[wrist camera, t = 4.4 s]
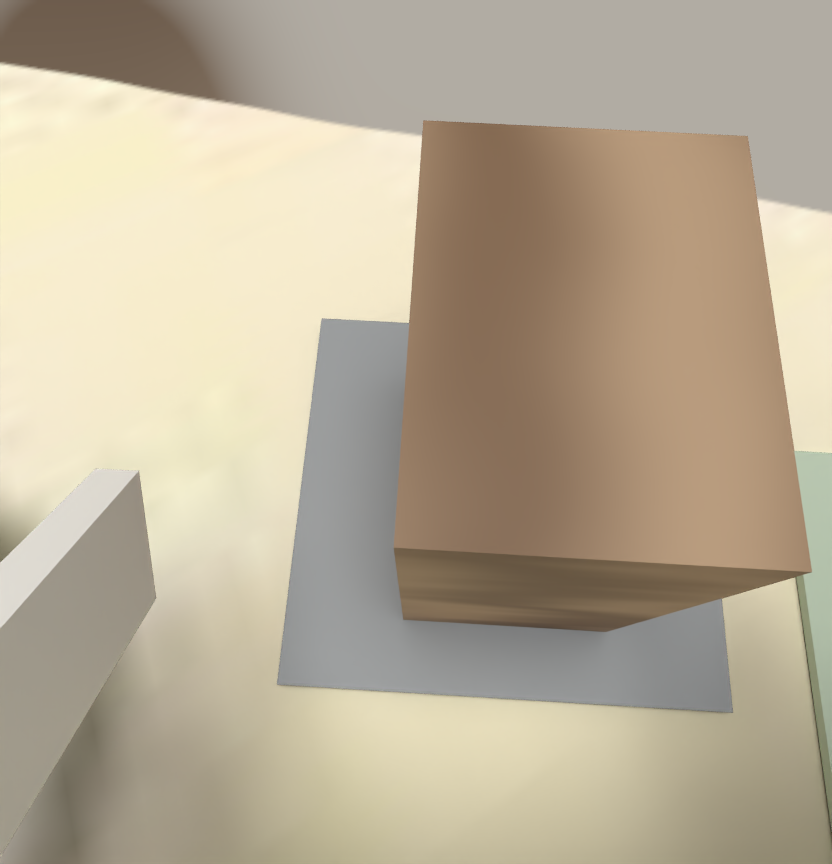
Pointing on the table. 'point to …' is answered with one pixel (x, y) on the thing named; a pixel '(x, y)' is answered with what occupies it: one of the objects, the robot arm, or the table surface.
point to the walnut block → (590, 382)
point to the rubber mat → (818, 594)
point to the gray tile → (379, 590)
